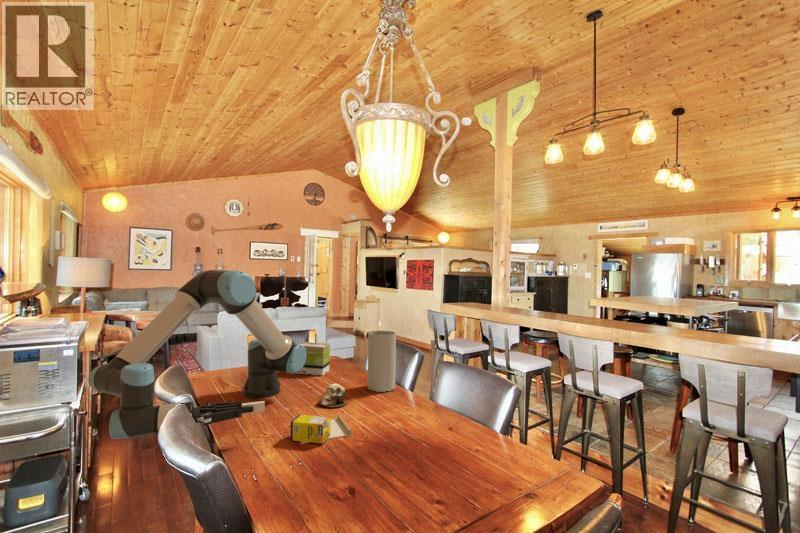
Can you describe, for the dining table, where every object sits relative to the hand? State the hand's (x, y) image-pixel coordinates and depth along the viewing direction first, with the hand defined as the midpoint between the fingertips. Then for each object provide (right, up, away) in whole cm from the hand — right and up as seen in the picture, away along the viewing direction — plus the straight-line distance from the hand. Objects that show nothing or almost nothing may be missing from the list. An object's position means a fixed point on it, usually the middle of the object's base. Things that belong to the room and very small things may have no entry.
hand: (264, 406), depth 118 cm
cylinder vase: (+34, -12, +53) cm, 64 cm away
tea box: (-3, -11, +77) cm, 78 cm away
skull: (+16, -11, +33) cm, 38 cm away
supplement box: (+9, -7, +2) cm, 12 cm away
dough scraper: (+17, -11, +7) cm, 21 cm away
